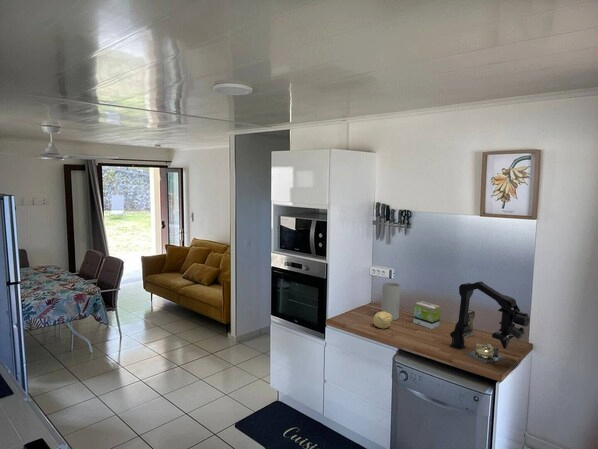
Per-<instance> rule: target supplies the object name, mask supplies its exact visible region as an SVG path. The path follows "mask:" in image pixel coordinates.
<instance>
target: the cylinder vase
mask: <svg viewBox="0 0 598 449" xmlns="http://www.w3.org/2000/svg"><path fill="white" fill-rule="evenodd" d="M381 292H382V293H381V309H380V310H381V311H380V312H384V311H385V312H387V313H390V314H391V315H392V322H393V321H397V320H399V319H400V318H399V315H400V301H401V300H400V299H401V297H400V296H401V284H399V283H397V282H390V281H388V282H383V283H382V290H381Z"/></svg>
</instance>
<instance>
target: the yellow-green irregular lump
mask: <svg viewBox="0 0 598 449" xmlns="http://www.w3.org/2000/svg"><path fill="white" fill-rule="evenodd" d="M474 351H475V353H476V354H477V355H478V356H480V357H484V358H492V359H493V360H498V354H499V352H500V351H499V347H497V346H492V344H491V343H487V344H481V343H476V346H475V349H474Z"/></svg>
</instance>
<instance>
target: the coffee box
mask: <svg viewBox="0 0 598 449" xmlns="http://www.w3.org/2000/svg"><path fill="white" fill-rule="evenodd" d="M459 312H460V310H458V313H459ZM475 314H476V311H474V310H471V309H469V310H468V318H467V323H468V325H470V332H469V333H468V334H467V335H466V336H465V337H463V338H464V339H465V338H469V337H472V336H474V330H475V329H474V328H475V316H476V315H475ZM458 320H459V315H458V319H457V321H458Z"/></svg>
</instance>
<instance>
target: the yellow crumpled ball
mask: <svg viewBox="0 0 598 449" xmlns="http://www.w3.org/2000/svg"><path fill="white" fill-rule="evenodd" d="M372 321H373V325H374V327H375V326H376V327H377V328H379V329H388V328H389V327H390V325H391V323H392V322H393V321H392V315H391V314H390V313H387V312H385V311H384V312H381V311H377V312H376V313H375V314H374V316H373V320H372Z"/></svg>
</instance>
